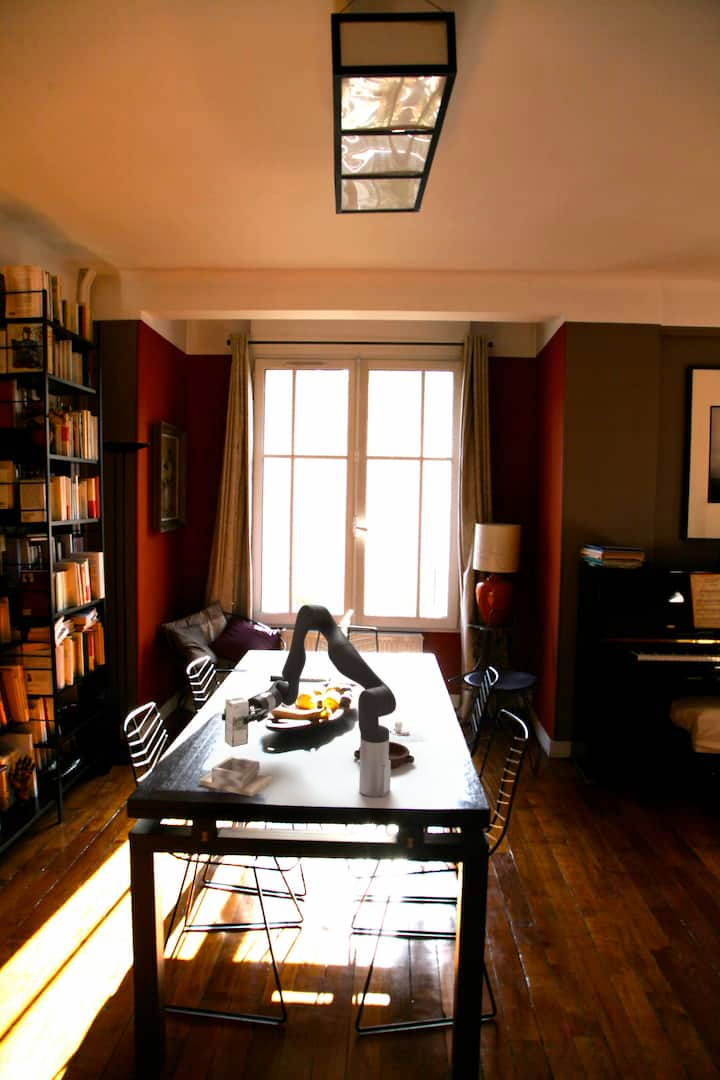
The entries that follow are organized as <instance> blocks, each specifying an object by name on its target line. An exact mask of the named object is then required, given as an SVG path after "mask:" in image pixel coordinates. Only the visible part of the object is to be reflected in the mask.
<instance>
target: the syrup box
mask: <svg viewBox="0 0 720 1080" xmlns="http://www.w3.org/2000/svg"><path fill="white" fill-rule="evenodd" d="M247 700H248V699H246V698H245V697H242V696H238V697H232V698H226V699H225V703H224V704H225V705H224V706H225V707H224V708H225V721H224V742H225V743H226V744H227V745H228V746H229V747H231V748H236V747H239V746H243V745H248V743H249V723H248V724H246V725H245V724H243V718H244V717H246V716H248V708H249V702H248V701H247Z"/></svg>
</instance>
